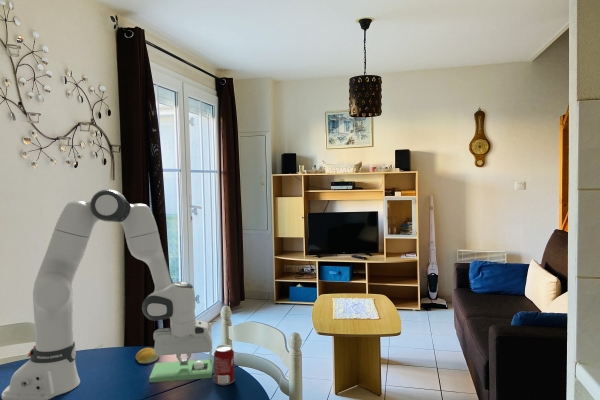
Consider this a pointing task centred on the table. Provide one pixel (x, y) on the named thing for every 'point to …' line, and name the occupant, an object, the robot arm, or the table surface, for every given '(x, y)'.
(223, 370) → the soda can
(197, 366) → the ball
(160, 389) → the table surface
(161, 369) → the green
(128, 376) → the table surface
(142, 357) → the bread roll
